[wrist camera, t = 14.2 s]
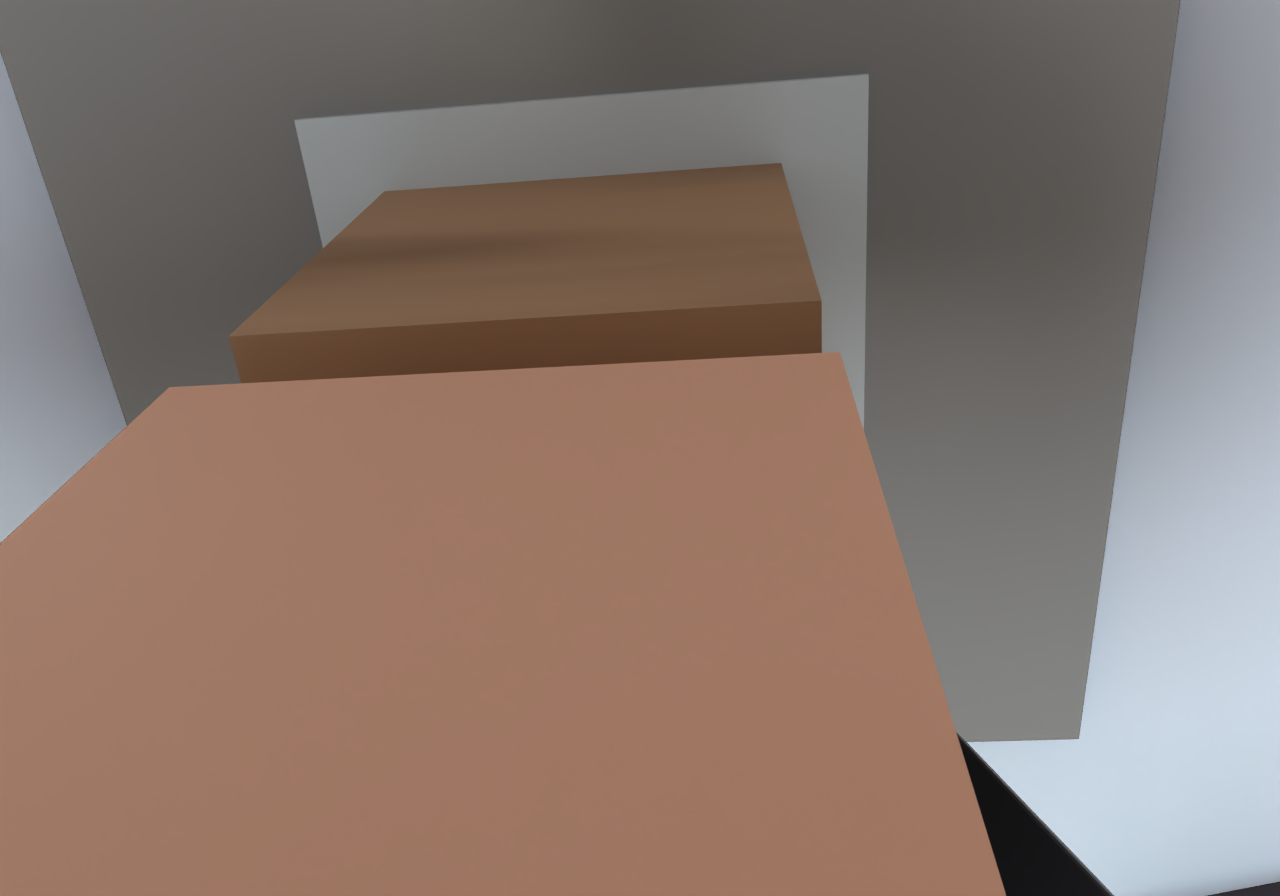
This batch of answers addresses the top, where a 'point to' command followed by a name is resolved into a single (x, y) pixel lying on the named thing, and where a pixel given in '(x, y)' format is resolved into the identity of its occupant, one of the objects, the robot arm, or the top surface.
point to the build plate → (668, 141)
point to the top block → (480, 647)
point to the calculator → (1255, 891)
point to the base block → (547, 279)
